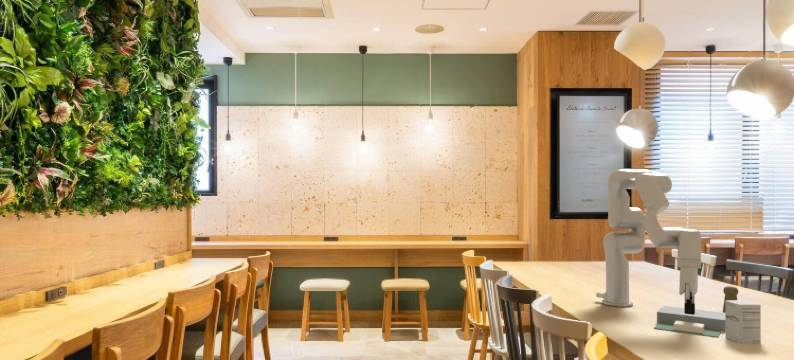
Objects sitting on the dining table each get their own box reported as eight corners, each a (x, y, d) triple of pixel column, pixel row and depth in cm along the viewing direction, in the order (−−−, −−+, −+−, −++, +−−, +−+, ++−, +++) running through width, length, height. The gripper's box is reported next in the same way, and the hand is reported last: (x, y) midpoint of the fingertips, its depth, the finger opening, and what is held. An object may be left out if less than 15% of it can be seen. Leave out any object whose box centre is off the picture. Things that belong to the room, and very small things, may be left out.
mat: (653, 328, 195) (653, 327, 195) (659, 323, 203) (659, 322, 203) (718, 337, 183) (718, 336, 183) (721, 331, 191) (721, 330, 191)
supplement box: (724, 337, 183) (724, 300, 183) (745, 337, 184) (744, 299, 184) (740, 343, 176) (739, 304, 176) (761, 343, 176) (761, 304, 177)
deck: (656, 322, 204) (656, 311, 204) (664, 315, 216) (664, 305, 216) (724, 331, 191) (724, 320, 191) (728, 324, 203) (728, 313, 203)
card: (676, 320, 198) (676, 326, 197) (673, 323, 193) (673, 329, 193) (704, 324, 192) (704, 329, 192) (702, 327, 187) (702, 333, 187)
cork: (742, 315, 217) (742, 288, 217) (725, 315, 218) (725, 287, 218) (736, 312, 222) (735, 285, 223) (720, 312, 224) (719, 285, 224)
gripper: (681, 260, 207) (681, 309, 206) (674, 264, 194) (674, 316, 194) (703, 262, 202) (704, 311, 202) (698, 266, 190) (698, 319, 189)
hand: (689, 313), depth 198 cm, fingers closed
